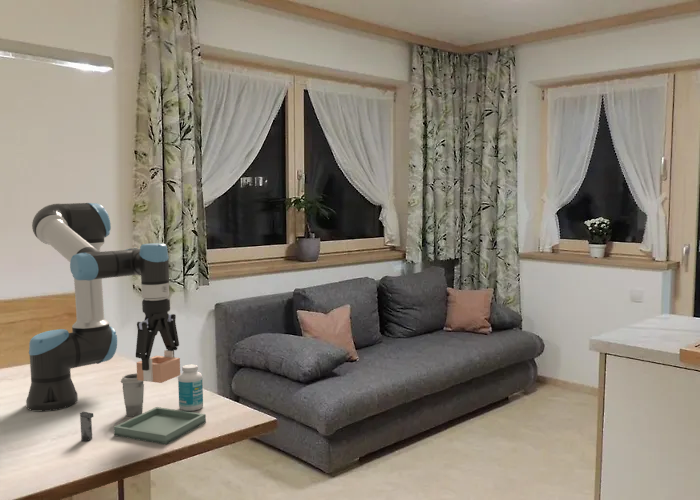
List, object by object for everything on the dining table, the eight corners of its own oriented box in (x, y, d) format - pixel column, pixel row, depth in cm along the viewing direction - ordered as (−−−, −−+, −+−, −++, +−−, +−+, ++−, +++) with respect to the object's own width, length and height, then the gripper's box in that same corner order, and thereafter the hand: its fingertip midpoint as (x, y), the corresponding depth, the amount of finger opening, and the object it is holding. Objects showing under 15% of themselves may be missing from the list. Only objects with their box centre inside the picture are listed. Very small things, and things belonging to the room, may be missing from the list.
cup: (123, 419, 192) (122, 380, 191) (120, 412, 198) (119, 375, 197) (148, 415, 195) (146, 377, 194) (144, 409, 201) (142, 371, 200)
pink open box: (161, 382, 177) (160, 365, 177) (132, 379, 181) (132, 362, 181) (180, 375, 185) (179, 358, 184) (152, 371, 189) (152, 355, 188)
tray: (114, 435, 179) (113, 426, 179) (157, 414, 196) (156, 406, 196) (165, 444, 172) (165, 435, 172) (205, 422, 189) (205, 414, 189)
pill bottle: (197, 412, 197) (195, 369, 196) (174, 411, 199) (173, 368, 198) (207, 404, 205) (205, 363, 203) (185, 403, 206) (184, 362, 205)
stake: (79, 440, 176) (77, 414, 175) (86, 436, 179) (85, 410, 178) (89, 442, 175) (87, 415, 174) (96, 438, 177) (95, 412, 176)
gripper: (140, 305, 170) (144, 388, 171) (190, 293, 189) (192, 368, 191) (118, 303, 172) (122, 385, 174) (169, 292, 192) (172, 366, 194)
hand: (159, 376), depth 183 cm, fingers closed on pink open box, 8 cm apart
